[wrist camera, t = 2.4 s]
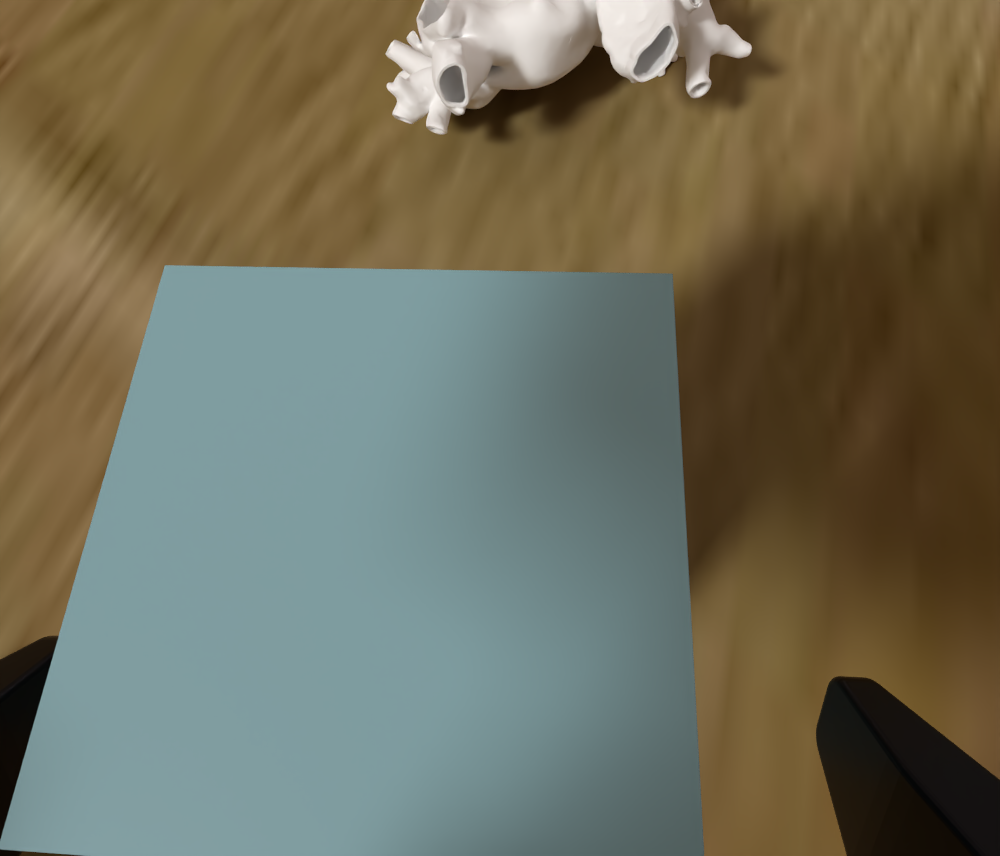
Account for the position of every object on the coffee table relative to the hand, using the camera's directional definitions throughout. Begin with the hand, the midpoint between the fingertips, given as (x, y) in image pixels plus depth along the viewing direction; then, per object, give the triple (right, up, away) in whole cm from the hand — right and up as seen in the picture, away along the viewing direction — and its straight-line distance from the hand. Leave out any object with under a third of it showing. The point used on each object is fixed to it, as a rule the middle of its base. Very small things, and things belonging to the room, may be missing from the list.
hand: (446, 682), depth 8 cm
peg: (0, -2, +9) cm, 9 cm away
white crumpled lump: (+2, +16, +16) cm, 23 cm away
